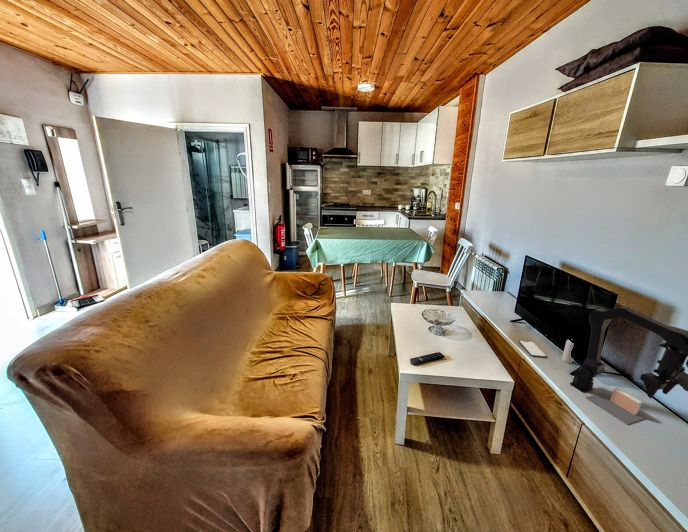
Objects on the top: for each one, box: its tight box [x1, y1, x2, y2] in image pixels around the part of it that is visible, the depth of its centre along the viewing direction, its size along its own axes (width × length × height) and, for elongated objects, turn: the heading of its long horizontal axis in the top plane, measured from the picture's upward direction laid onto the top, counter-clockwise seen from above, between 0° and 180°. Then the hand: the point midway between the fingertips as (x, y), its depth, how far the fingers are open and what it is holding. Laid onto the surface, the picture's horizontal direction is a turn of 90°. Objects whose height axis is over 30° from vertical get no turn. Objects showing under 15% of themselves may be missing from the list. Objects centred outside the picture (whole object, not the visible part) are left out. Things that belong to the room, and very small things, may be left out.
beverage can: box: [561, 338, 574, 364], centre depth 162 cm, size 5×5×12 cm
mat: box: [585, 392, 647, 425], centre depth 129 cm, size 16×12×1 cm
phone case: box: [518, 340, 547, 359], centre depth 173 cm, size 9×2×16 cm
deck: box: [610, 387, 643, 415], centre depth 129 cm, size 9×2×6 cm, turn 19°
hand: (657, 395), depth 118 cm, fingers open, 9 cm apart
